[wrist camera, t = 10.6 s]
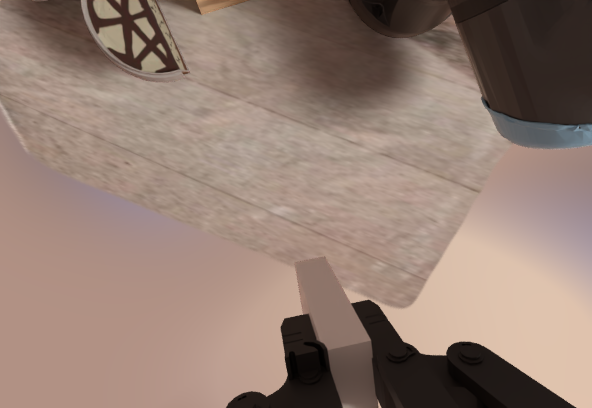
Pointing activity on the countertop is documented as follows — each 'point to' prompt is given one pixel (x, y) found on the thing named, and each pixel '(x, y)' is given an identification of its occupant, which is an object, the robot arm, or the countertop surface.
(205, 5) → the oak block
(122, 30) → the food container
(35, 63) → the countertop surface
